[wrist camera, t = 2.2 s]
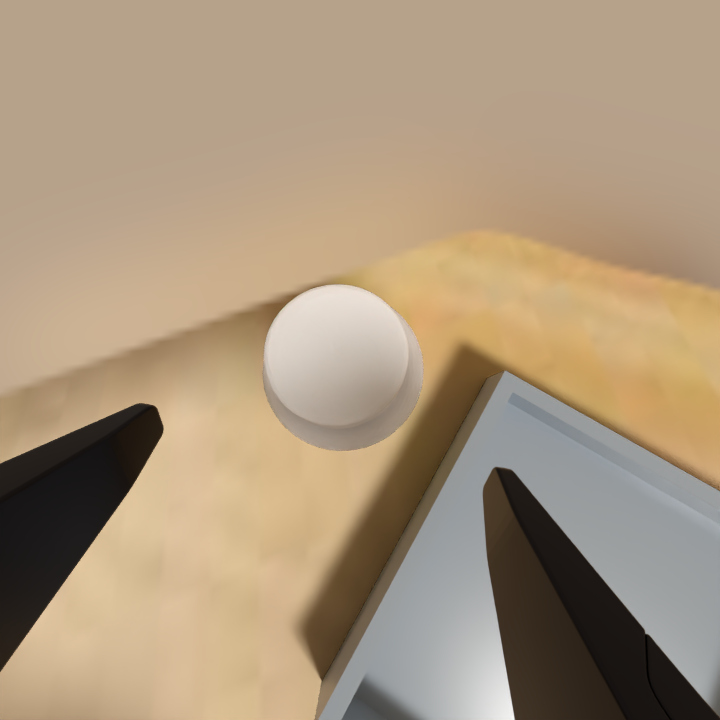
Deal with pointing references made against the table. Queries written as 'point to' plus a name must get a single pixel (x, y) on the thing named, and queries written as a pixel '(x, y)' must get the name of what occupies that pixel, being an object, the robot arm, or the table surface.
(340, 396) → the supplement bottle
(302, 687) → the table surface
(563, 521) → the tray
